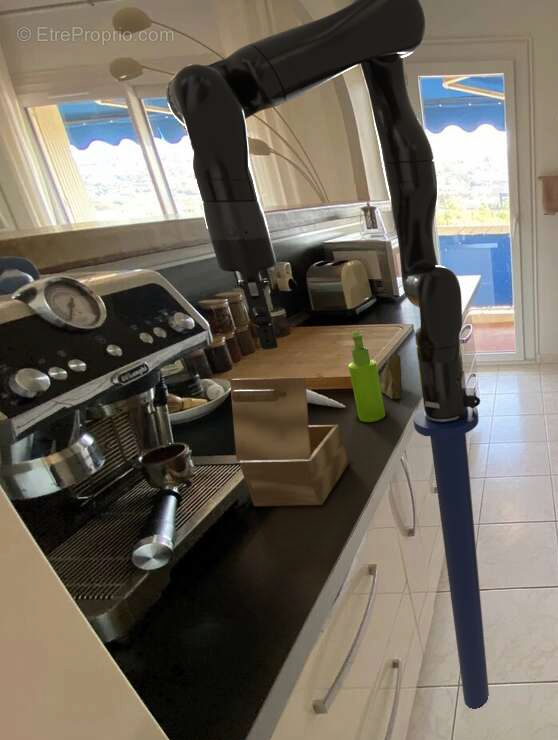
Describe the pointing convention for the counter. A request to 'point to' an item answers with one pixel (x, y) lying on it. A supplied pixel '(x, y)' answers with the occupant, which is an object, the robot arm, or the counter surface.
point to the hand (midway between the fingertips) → (269, 341)
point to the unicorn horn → (321, 400)
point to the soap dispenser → (365, 382)
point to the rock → (392, 378)
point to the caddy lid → (270, 419)
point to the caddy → (299, 472)
